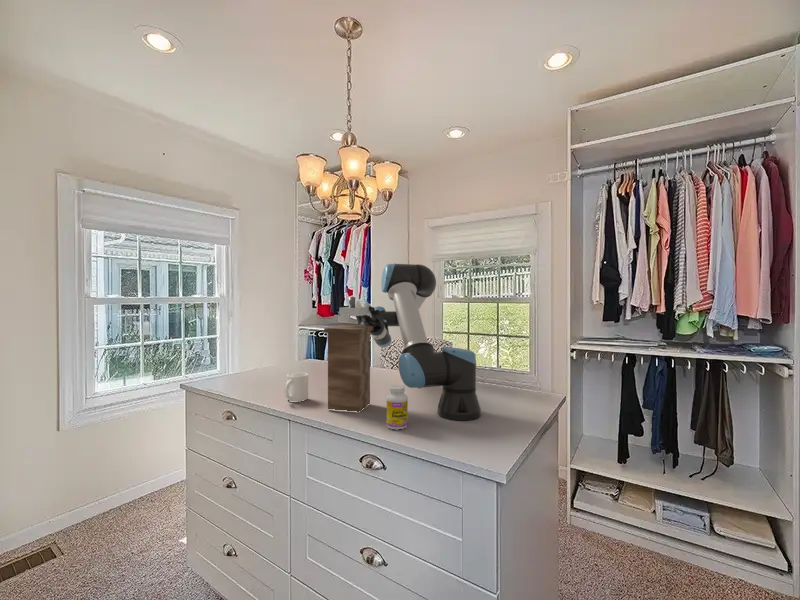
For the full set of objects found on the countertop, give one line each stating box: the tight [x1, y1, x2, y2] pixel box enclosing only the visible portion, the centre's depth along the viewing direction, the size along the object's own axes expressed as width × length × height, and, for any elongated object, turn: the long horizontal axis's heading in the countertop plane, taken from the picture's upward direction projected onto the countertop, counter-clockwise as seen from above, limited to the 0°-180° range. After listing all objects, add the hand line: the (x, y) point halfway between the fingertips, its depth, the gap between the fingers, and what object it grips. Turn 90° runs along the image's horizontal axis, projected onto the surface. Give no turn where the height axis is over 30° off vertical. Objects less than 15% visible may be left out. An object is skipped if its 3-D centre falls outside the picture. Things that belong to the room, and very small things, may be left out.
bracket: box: [338, 296, 369, 317], centre depth 155 cm, size 20×8×7 cm, turn 166°
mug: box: [284, 372, 309, 401], centre depth 153 cm, size 12×8×10 cm
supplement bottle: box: [386, 384, 409, 430], centre depth 123 cm, size 7×7×13 cm
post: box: [323, 325, 373, 412], centre depth 145 cm, size 14×14×30 cm
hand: (361, 303), depth 158 cm, fingers closed on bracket, 3 cm apart
